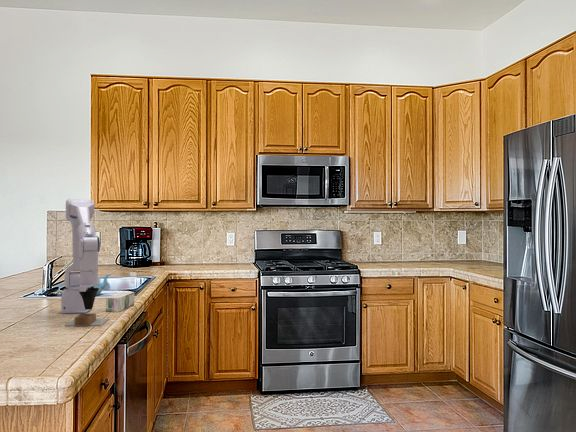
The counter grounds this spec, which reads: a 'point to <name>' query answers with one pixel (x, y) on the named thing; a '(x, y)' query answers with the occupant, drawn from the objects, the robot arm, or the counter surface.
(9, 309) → the counter surface
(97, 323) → the grey mat
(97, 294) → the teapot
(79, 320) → the walnut slab
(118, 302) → the syrup box
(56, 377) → the counter surface
